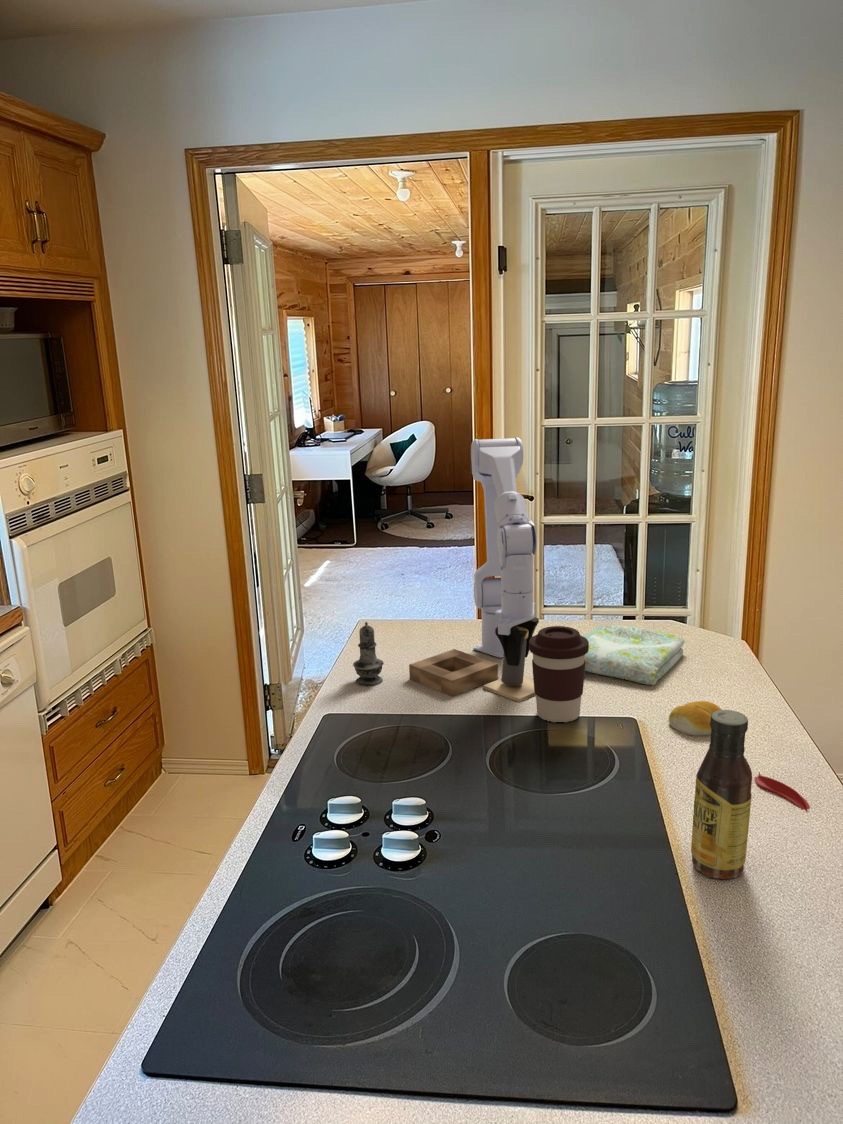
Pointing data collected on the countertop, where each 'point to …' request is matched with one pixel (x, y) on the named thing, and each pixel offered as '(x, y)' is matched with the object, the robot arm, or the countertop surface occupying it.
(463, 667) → the wooden square frame
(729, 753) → the sauce bottle
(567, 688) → the coffee cup
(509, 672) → the plug
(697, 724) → the bread roll
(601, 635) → the towel
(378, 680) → the salt shaker
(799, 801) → the cayenne pepper
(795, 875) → the countertop surface
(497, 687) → the coaster
